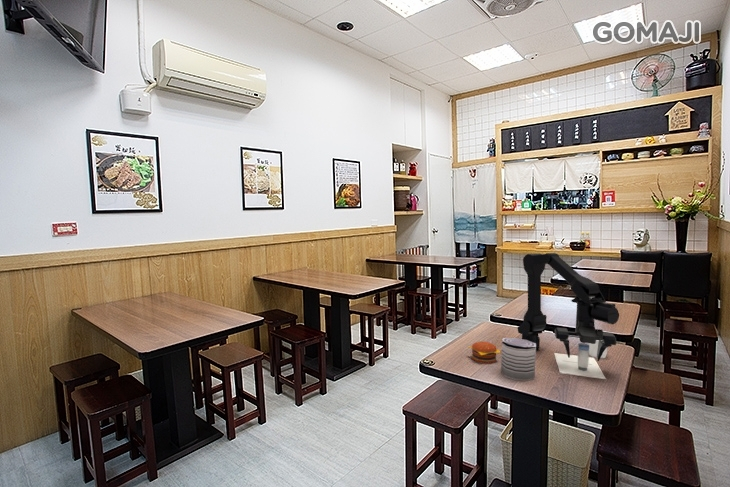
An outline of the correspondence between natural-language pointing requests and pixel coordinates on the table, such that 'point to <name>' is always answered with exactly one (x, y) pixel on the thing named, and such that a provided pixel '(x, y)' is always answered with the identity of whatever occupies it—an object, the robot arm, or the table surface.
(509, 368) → the can
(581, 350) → the marker
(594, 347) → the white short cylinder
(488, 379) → the table surface
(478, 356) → the hamburger
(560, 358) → the paper
